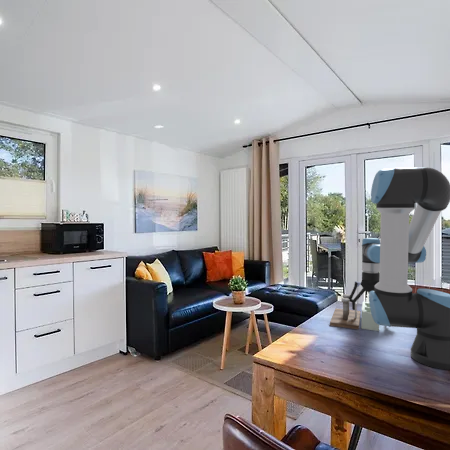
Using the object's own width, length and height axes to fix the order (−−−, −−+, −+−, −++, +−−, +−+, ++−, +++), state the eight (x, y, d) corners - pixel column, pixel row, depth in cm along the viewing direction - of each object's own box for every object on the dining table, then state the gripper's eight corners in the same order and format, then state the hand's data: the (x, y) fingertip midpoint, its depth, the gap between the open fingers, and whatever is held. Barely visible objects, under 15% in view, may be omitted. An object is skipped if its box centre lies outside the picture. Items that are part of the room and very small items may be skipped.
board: (358, 329, 139) (359, 304, 139) (329, 325, 144) (329, 301, 144) (360, 314, 162) (360, 292, 162) (335, 311, 167) (335, 290, 167)
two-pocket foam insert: (379, 331, 137) (379, 314, 137) (361, 328, 140) (361, 312, 140) (378, 317, 156) (378, 303, 156) (362, 315, 159) (362, 301, 159)
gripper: (399, 272, 146) (399, 319, 147) (343, 268, 156) (343, 313, 157) (401, 274, 139) (400, 324, 140) (342, 271, 149) (342, 317, 150)
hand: (370, 318), depth 148 cm, fingers open, 12 cm apart
